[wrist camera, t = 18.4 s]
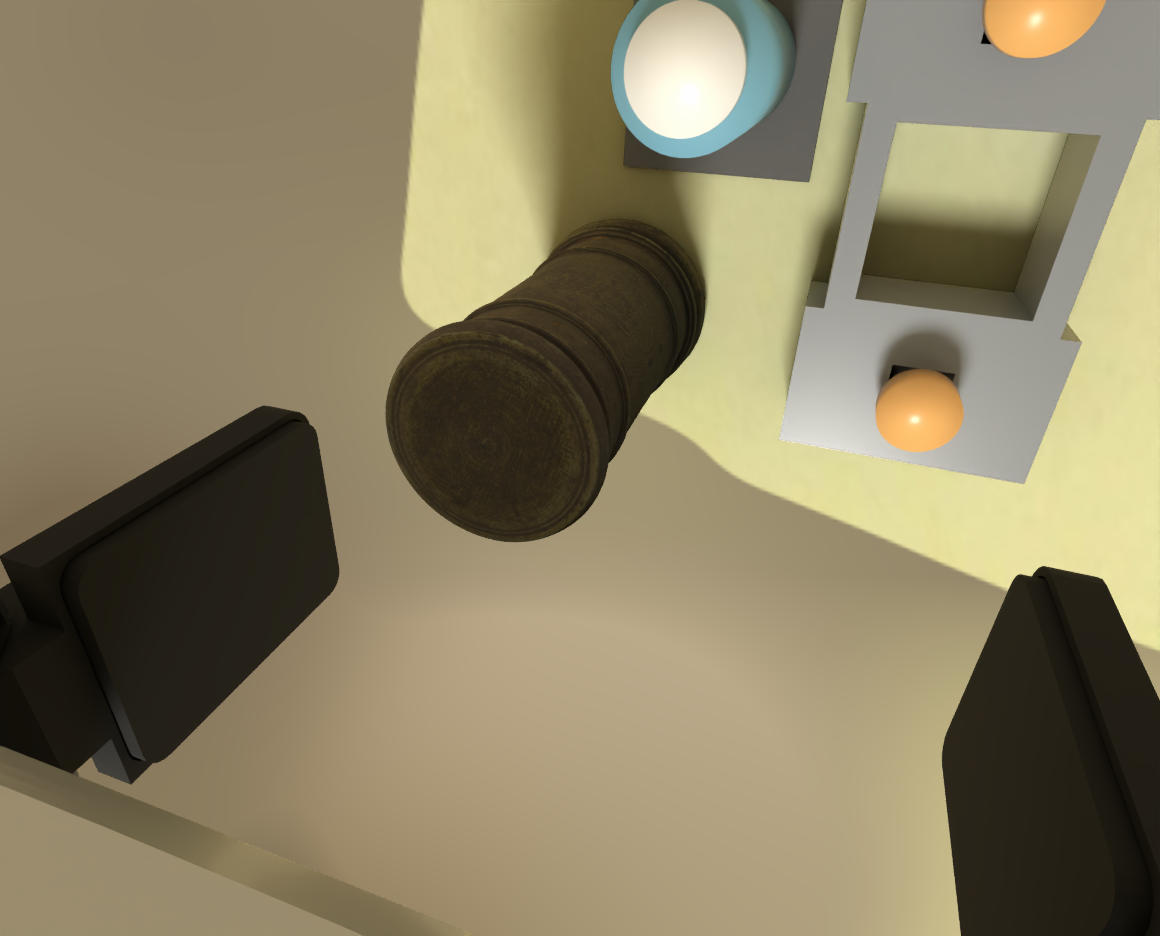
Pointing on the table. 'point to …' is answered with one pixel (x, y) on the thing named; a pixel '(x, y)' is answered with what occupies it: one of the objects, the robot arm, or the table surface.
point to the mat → (790, 128)
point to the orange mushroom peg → (918, 409)
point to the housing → (956, 313)
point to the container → (544, 382)
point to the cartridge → (700, 71)
